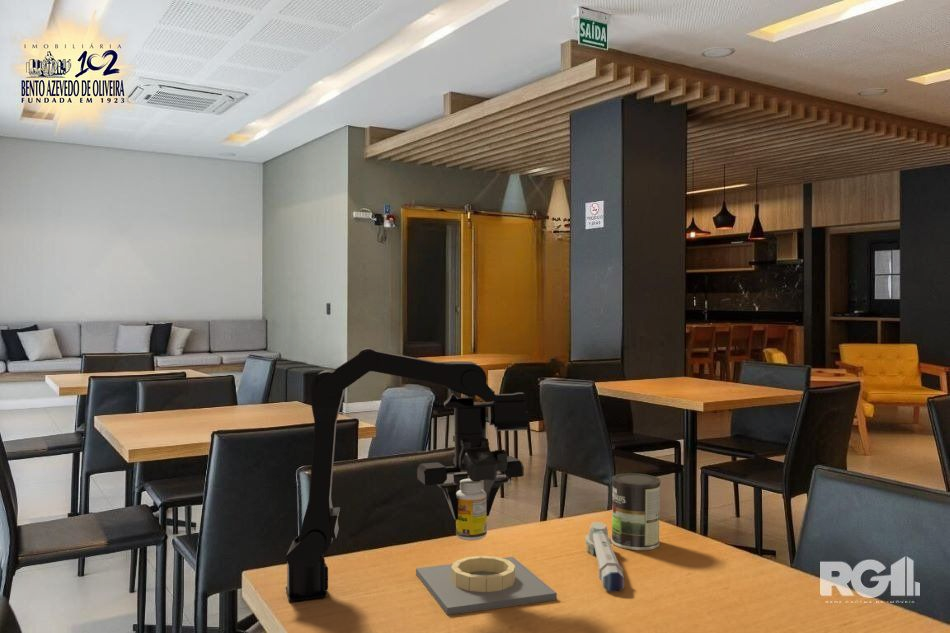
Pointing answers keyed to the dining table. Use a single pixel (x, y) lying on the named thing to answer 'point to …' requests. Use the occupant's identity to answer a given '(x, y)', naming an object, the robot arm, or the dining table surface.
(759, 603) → the dining table surface
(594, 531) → the grey blue-tipped handheld tool
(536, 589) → the grey board with ring
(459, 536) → the supplement bottle
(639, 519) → the coffee can
